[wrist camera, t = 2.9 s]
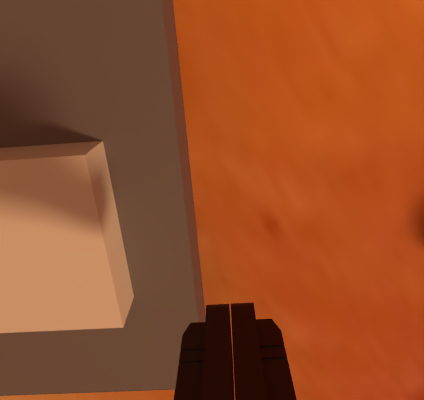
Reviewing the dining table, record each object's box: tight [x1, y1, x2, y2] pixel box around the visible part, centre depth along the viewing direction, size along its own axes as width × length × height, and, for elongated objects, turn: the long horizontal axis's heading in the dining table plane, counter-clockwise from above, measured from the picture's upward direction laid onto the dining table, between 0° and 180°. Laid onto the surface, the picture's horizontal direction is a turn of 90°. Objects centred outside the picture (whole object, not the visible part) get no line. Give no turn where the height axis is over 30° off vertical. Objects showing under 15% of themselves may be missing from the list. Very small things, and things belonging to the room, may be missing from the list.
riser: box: [0, 0, 206, 396], centre depth 20 cm, size 24×14×4 cm, turn 4°
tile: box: [0, 141, 134, 333], centre depth 17 cm, size 9×7×2 cm
